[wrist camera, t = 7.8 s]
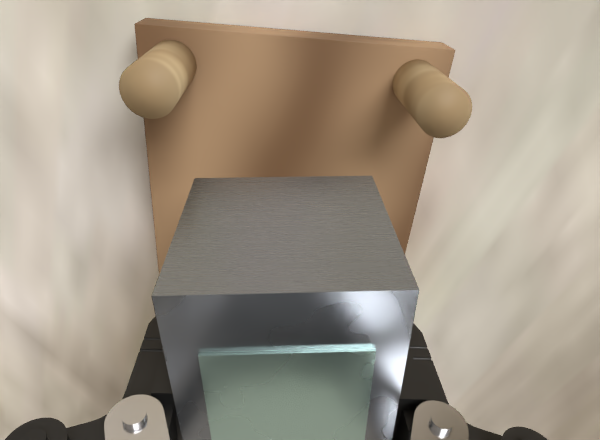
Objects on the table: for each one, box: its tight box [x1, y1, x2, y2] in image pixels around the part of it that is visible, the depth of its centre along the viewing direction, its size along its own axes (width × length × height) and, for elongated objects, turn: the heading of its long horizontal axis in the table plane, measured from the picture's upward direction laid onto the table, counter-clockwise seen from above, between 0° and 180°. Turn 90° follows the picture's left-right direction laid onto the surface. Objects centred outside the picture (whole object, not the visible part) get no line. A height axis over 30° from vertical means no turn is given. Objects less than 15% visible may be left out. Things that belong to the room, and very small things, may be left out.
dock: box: [119, 18, 472, 274], centre depth 18 cm, size 11×15×5 cm
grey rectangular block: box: [152, 176, 419, 440], centre depth 13 cm, size 5×9×5 cm, turn 0°
